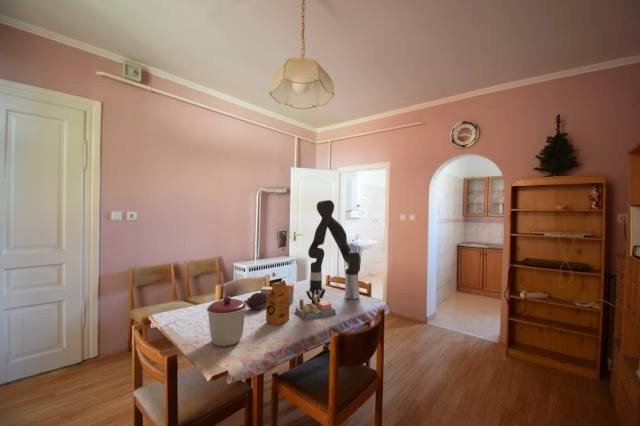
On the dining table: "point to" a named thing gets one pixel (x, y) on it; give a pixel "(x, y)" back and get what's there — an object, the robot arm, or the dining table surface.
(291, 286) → the stack of blocks
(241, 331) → the canister
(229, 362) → the dining table surface
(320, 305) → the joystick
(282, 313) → the coffee package
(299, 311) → the shelf rack
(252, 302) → the pine cone
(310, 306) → the birch block
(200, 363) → the dining table surface
